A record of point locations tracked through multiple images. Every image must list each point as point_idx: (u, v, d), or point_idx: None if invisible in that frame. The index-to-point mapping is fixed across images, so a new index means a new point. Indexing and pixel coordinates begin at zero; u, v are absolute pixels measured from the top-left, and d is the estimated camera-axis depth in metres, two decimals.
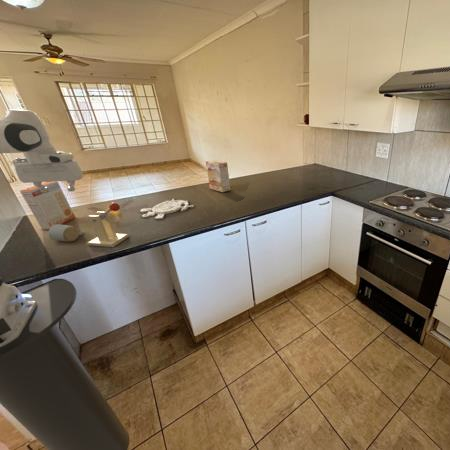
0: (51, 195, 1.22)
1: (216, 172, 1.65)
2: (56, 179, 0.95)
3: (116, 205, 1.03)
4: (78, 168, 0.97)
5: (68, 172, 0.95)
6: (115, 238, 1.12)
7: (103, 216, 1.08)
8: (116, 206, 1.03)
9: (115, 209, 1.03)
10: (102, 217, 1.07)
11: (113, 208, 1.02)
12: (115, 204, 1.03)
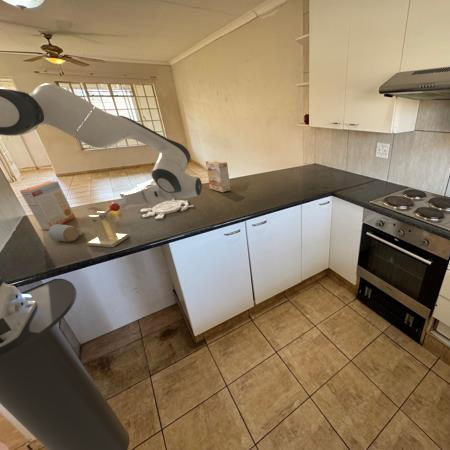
0: (51, 195, 1.22)
1: (216, 172, 1.65)
2: None
3: (116, 205, 1.03)
4: (134, 201, 0.90)
5: (133, 192, 0.91)
6: (115, 238, 1.12)
7: (103, 216, 1.08)
8: (116, 206, 1.03)
9: (115, 209, 1.03)
10: (102, 217, 1.07)
11: (113, 208, 1.02)
12: (115, 204, 1.03)
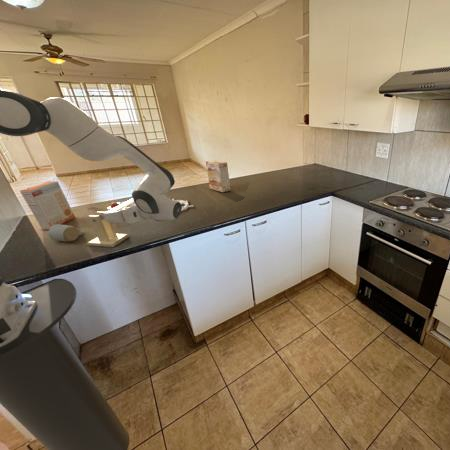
0: (51, 195, 1.22)
1: (216, 172, 1.65)
2: (118, 205, 1.00)
3: (116, 205, 1.03)
4: (113, 220, 0.94)
5: (113, 211, 0.95)
6: (115, 238, 1.12)
7: (103, 216, 1.08)
8: None
9: None
10: (102, 217, 1.07)
11: None
12: (115, 204, 1.03)
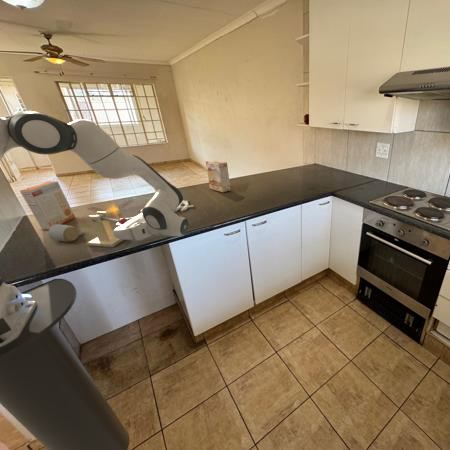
0: (51, 195, 1.22)
1: (216, 172, 1.65)
2: (127, 222, 1.04)
3: None
4: (123, 236, 0.98)
5: (123, 228, 0.99)
6: (115, 238, 1.12)
7: None
8: None
9: None
10: None
11: None
12: (126, 221, 1.06)
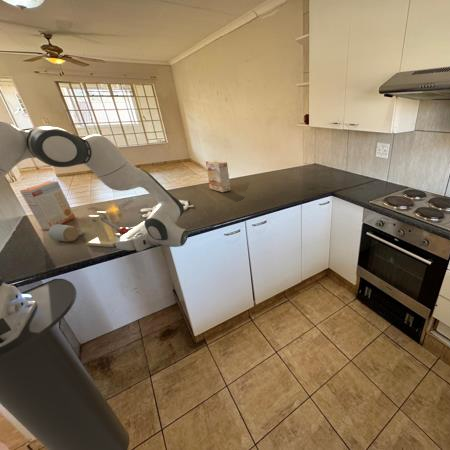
0: (51, 195, 1.22)
1: (216, 172, 1.65)
2: (128, 232, 1.06)
3: None
4: (124, 247, 1.01)
5: (124, 239, 1.01)
6: (115, 238, 1.12)
7: (103, 219, 1.08)
8: None
9: None
10: None
11: None
12: (126, 232, 1.09)
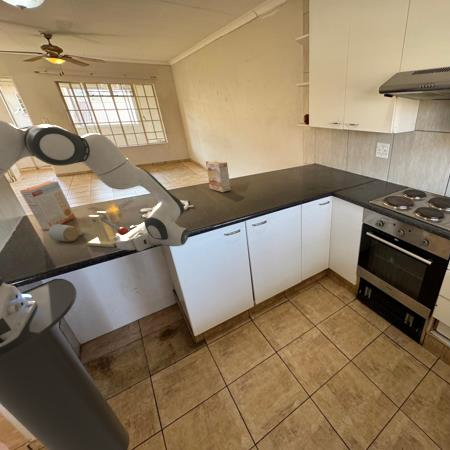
0: (51, 195, 1.22)
1: (216, 172, 1.65)
2: (129, 232, 1.06)
3: (126, 233, 1.09)
4: (125, 247, 1.00)
5: (125, 239, 1.01)
6: None
7: (103, 219, 1.08)
8: None
9: None
10: None
11: (121, 234, 1.08)
12: (126, 232, 1.09)
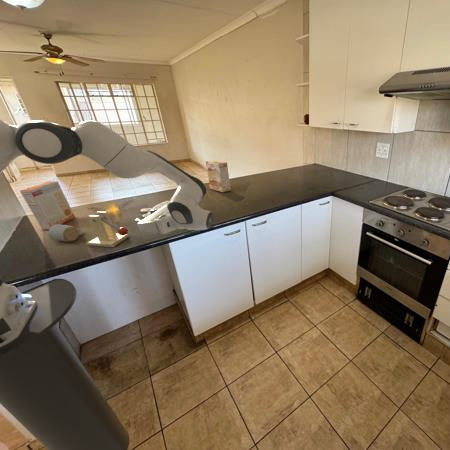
0: (51, 195, 1.22)
1: (216, 172, 1.65)
2: (150, 215, 1.00)
3: (126, 233, 1.09)
4: (147, 230, 0.94)
5: (147, 221, 0.95)
6: (115, 238, 1.12)
7: (103, 219, 1.08)
8: (125, 234, 1.09)
9: None
10: None
11: (121, 234, 1.08)
12: (126, 232, 1.09)
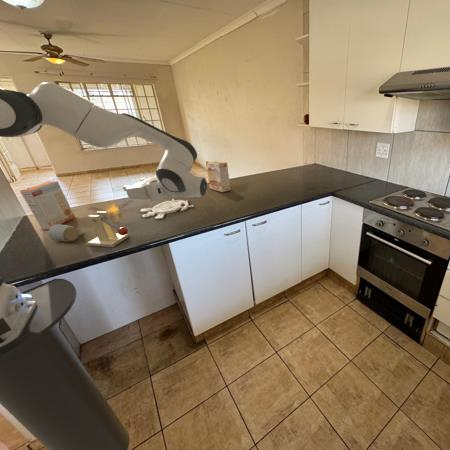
0: (51, 195, 1.22)
1: (216, 172, 1.65)
2: (140, 182, 0.94)
3: (126, 233, 1.09)
4: (137, 196, 0.88)
5: (137, 186, 0.89)
6: (115, 238, 1.12)
7: (103, 219, 1.08)
8: (125, 234, 1.09)
9: None
10: None
11: (121, 234, 1.08)
12: (126, 232, 1.09)
